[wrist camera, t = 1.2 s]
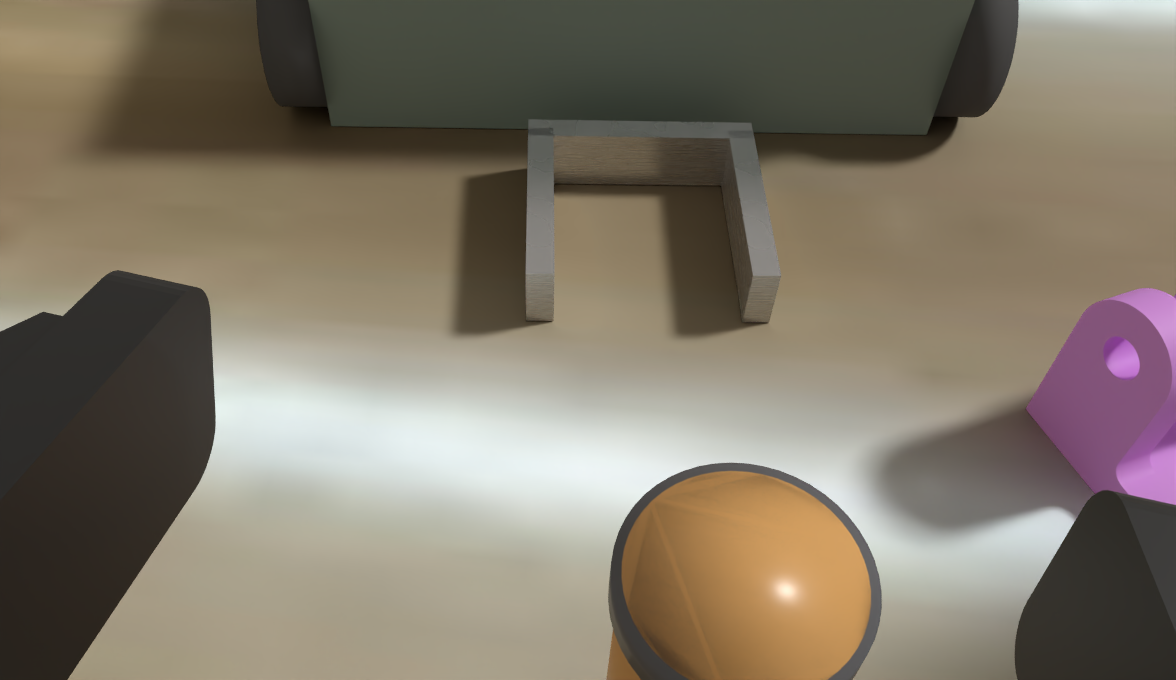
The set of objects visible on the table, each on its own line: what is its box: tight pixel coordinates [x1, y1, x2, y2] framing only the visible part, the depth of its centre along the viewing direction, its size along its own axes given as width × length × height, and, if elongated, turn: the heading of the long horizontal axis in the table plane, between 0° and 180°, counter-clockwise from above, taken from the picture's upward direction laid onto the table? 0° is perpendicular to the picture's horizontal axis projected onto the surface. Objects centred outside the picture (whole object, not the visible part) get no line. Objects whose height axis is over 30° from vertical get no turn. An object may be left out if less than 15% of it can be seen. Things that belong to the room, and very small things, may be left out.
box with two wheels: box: [256, 0, 1018, 322], centre depth 43 cm, size 30×26×10 cm
